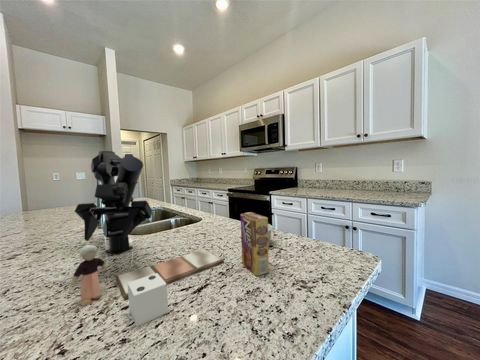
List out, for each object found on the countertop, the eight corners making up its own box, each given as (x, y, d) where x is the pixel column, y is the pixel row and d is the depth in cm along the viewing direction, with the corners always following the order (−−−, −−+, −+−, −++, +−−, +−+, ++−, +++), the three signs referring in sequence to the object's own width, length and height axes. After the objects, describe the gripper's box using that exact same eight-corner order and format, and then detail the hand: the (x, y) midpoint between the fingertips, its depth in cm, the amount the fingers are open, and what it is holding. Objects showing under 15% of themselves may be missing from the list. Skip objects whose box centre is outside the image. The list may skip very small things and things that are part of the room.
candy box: (270, 272, 58) (268, 217, 57) (256, 277, 56) (254, 219, 55) (254, 260, 66) (252, 211, 65) (241, 263, 64) (239, 213, 63)
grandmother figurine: (85, 310, 45) (79, 251, 45) (70, 308, 46) (64, 251, 45) (113, 289, 53) (109, 239, 52) (100, 288, 54) (95, 238, 53)
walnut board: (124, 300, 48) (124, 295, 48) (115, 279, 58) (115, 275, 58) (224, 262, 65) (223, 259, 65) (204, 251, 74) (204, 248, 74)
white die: (136, 326, 40) (133, 295, 39) (129, 310, 44) (127, 282, 44) (168, 312, 43) (166, 283, 43) (158, 298, 48) (157, 272, 48)
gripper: (76, 174, 58) (45, 225, 48) (145, 171, 59) (129, 220, 49) (96, 198, 67) (74, 246, 56) (157, 196, 68) (145, 242, 57)
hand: (104, 239), depth 55 cm, fingers open, 9 cm apart
